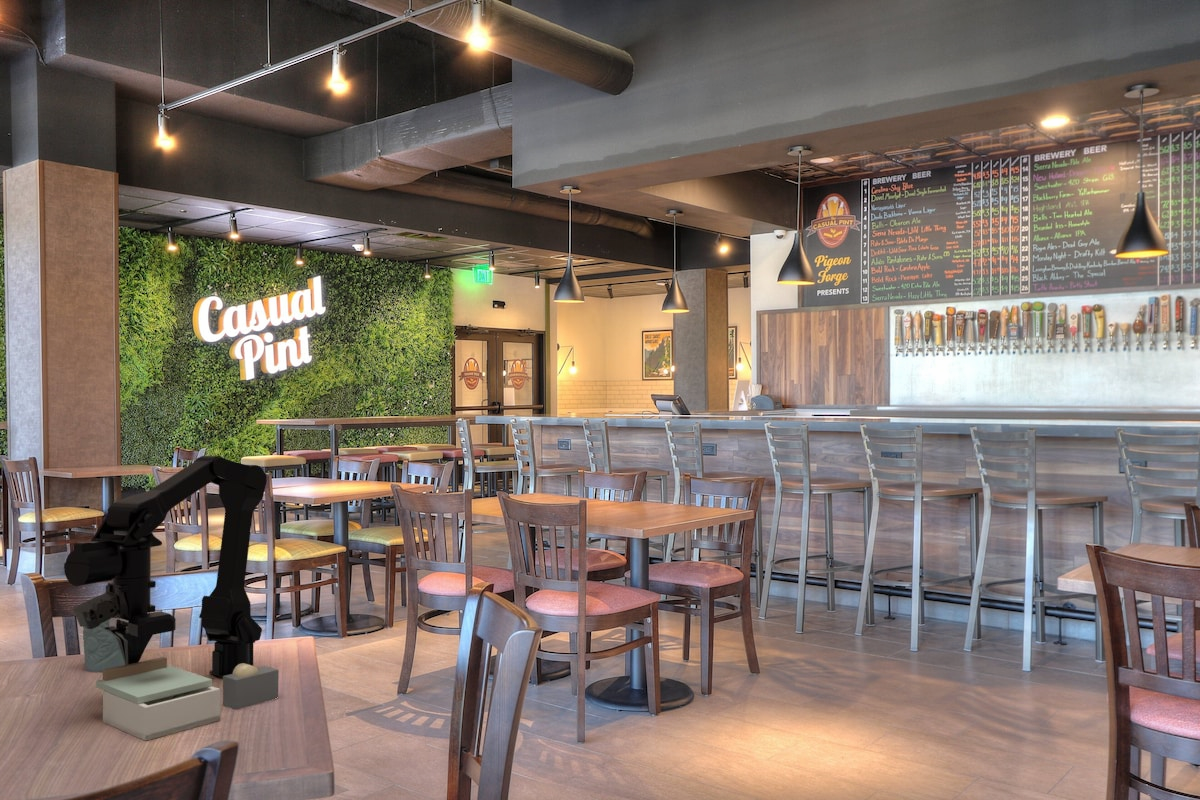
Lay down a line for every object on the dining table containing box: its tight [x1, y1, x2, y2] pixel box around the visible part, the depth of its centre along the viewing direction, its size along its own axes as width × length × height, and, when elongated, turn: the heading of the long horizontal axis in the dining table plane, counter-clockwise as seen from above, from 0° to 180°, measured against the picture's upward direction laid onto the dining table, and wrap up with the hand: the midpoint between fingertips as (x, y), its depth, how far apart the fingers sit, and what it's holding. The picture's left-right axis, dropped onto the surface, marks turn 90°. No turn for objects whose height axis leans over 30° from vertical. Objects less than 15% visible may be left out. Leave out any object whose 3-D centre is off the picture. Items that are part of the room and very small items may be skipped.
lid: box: [95, 656, 213, 704], centre depth 151 cm, size 12×14×3 cm
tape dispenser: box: [222, 663, 279, 711], centre depth 159 cm, size 8×4×7 cm, turn 142°
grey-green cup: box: [82, 620, 125, 673], centre depth 181 cm, size 10×10×12 cm
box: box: [102, 685, 221, 742], centre depth 149 cm, size 12×14×5 cm
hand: (130, 669), depth 155 cm, fingers closed
